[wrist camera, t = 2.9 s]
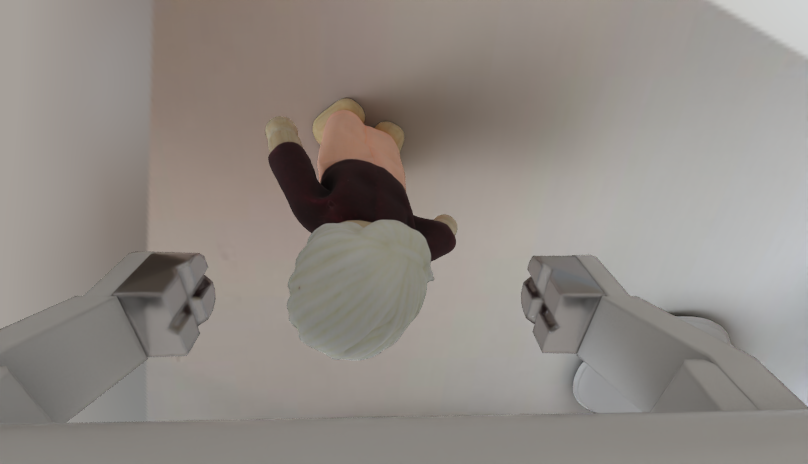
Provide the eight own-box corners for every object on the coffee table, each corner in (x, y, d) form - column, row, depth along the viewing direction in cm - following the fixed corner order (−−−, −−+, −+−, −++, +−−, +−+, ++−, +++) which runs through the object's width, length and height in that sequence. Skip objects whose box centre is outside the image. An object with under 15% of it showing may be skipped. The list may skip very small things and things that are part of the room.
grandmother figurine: (284, 151, 18) (142, 362, 7) (303, 73, 16) (150, 202, 5) (424, 198, 20) (477, 423, 9) (455, 134, 18) (567, 319, 7)
